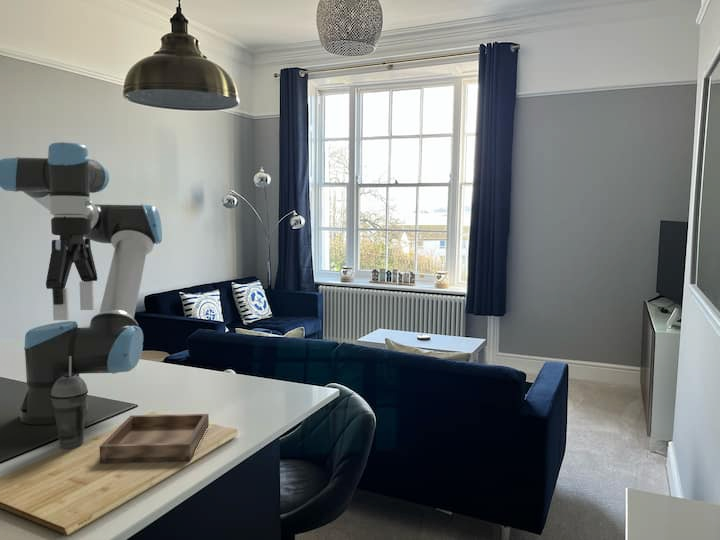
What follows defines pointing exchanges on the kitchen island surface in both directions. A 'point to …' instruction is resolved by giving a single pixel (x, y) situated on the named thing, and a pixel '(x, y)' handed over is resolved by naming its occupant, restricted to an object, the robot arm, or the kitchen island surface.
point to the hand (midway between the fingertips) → (75, 314)
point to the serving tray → (155, 438)
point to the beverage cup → (70, 409)
